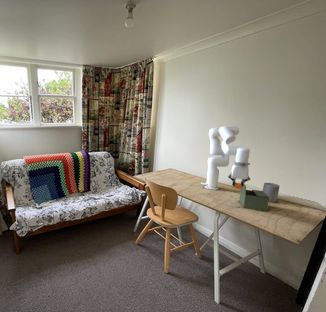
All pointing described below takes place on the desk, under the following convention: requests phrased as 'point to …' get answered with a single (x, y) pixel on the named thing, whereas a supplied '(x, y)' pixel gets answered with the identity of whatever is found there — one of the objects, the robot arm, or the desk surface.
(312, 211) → the desk surface
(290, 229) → the desk surface
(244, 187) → the flap
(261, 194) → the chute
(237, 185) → the packet
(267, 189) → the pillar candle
